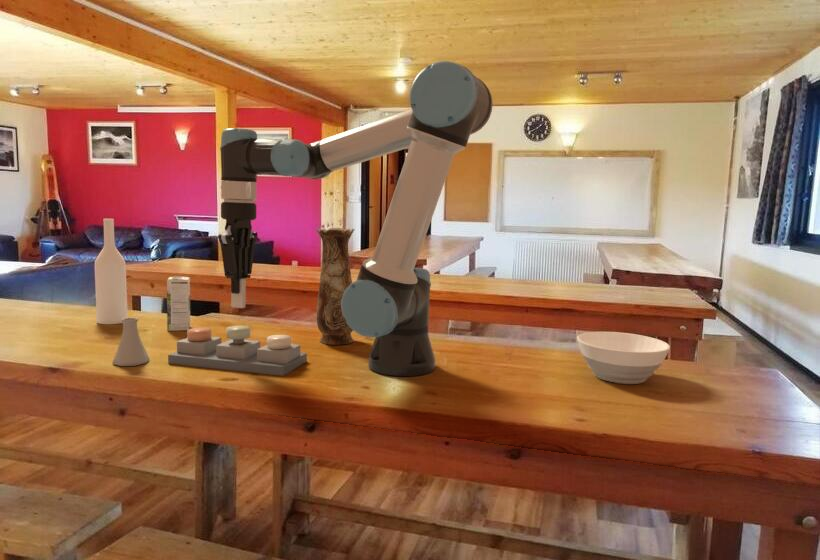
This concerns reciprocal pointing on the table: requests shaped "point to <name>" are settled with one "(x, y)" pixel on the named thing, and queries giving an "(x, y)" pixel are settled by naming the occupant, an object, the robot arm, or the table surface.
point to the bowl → (622, 355)
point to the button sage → (238, 334)
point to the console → (237, 356)
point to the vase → (334, 286)
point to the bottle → (110, 280)
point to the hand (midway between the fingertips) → (238, 307)
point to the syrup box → (178, 303)
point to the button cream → (279, 341)
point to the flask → (130, 346)
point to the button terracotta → (199, 334)
